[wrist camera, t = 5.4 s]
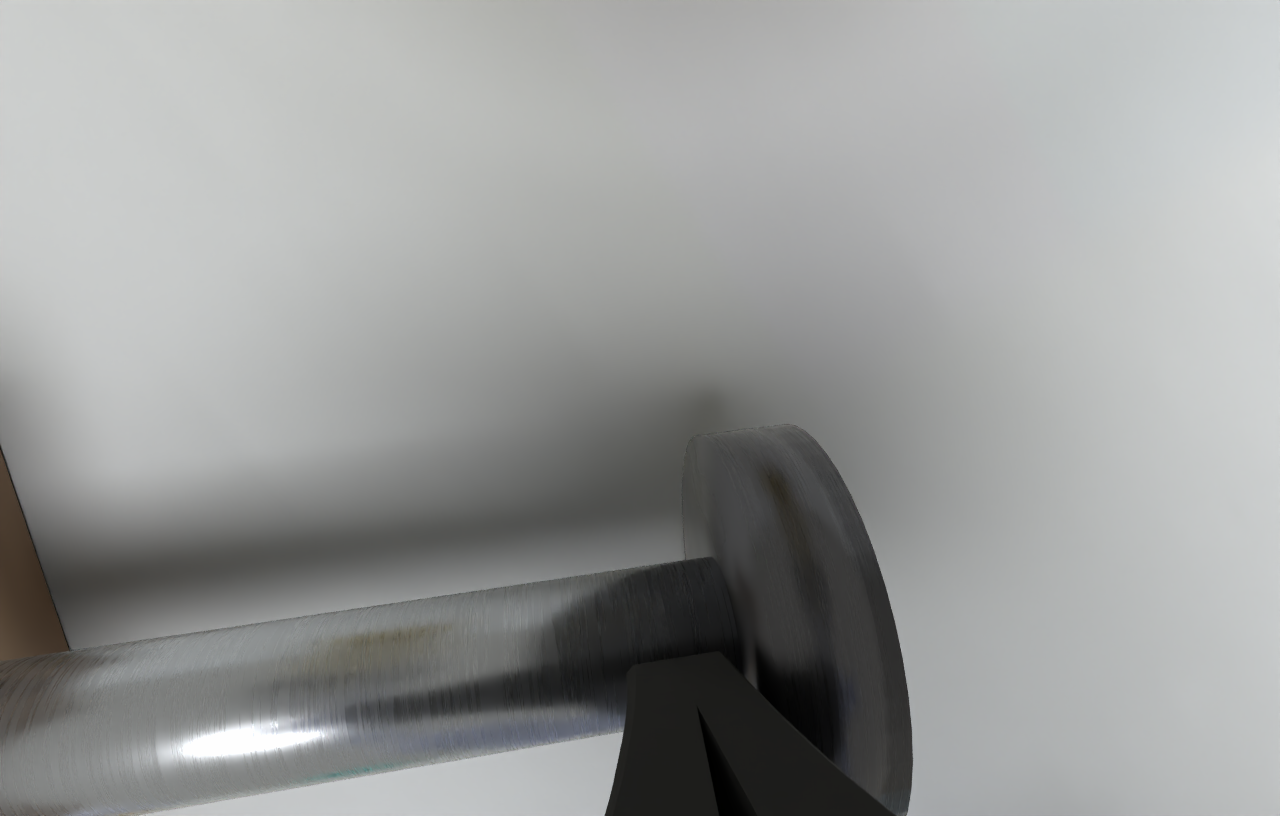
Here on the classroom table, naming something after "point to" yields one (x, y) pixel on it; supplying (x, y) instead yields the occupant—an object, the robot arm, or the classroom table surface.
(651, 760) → the robot arm
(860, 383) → the classroom table surface
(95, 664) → the shaft
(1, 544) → the bearing block
